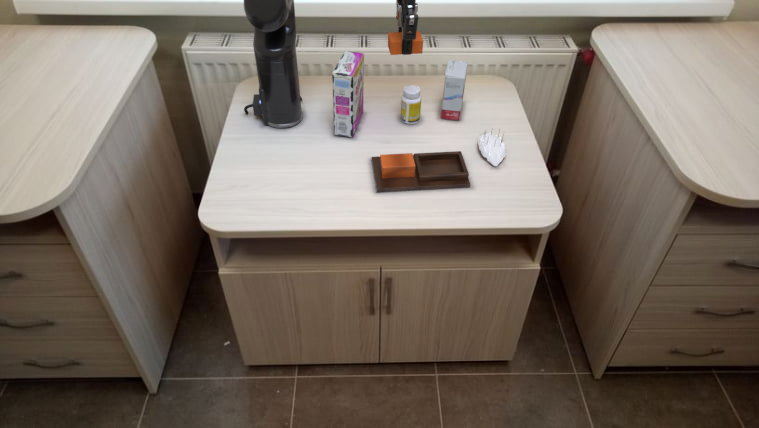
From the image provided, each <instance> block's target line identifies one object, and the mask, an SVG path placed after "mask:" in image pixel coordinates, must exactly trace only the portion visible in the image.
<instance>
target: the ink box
mask: <svg viewBox="0 0 759 428" xmlns="http://www.w3.org/2000/svg"><path fill="white" fill-rule="evenodd" d="M446 64H447V65H446V69H445V72H444V84H443V92H442V100H441V101H442V102H441V110H440V111H441V112H440V119H441V120H443V119H444V120H449V121H450V120H451V121H460V120H461V115H462V114H461V113H462V107H463V102H464V101H463V100H464V93H465V86H466V80H467V72H468V61H460V60H455V59H448V60H447V63H446Z"/></svg>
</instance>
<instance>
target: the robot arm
mask: <svg viewBox="0 0 759 428" xmlns="http://www.w3.org/2000/svg"><path fill="white" fill-rule="evenodd" d="M395 5H396V11H395V12H396V13H395V14H396V16H395V18H396V21H397V22H396V25H397V27H398V31H397V32H402V35H401V37H402V50H401V52H402V54H401V55H403V56H409V55H410V56H411V55H413V54H412V44H413V40H414V39H416V32H417V31H418V23H419V18H420V16H419V15H418V14H417V13H418V11H419V5H418V3H417V1H416V0H396V1H395ZM243 10H244V14H245V17H246V18H247V20H248V22H249V24H251V26H253V41H252V46H253V53H254V59H255V66H256V74H257V80H258V93H255V94H253V98H252V103H251V104H247V105H245V106H244V107H243V111H244V113H245V114H246V115H248V114H249V111H248V109H250V108H252V111H253V115H254V116H262V123H263V126H269V127H271V128H272V127H273V128H276V129H287V128H291V127H293V126H296V125H298V124H300V123H301V121H302V120H303V118H304V117H303V108H302V104H303V98H302V96H301V88H300V79H299V78H300V76H299V67H298V55H297V45H296V44H297V23H296V9H295V0H243ZM407 32H410V33H407Z"/></svg>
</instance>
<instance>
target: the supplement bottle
mask: <svg viewBox="0 0 759 428" xmlns="http://www.w3.org/2000/svg"><path fill="white" fill-rule="evenodd" d="M400 102H401V103H400V121H401V122H402V123H404V124H406V125H415V124H418V123H419V122H420V120H421V111H422V110H421V109H422V108H421V107H422V96H421V88H420V87H419V86H418V85H415V84H409V85H405V86H404V87H403V90H402V95H401V101H400Z"/></svg>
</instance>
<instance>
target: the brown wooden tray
mask: <svg viewBox="0 0 759 428" xmlns="http://www.w3.org/2000/svg"><path fill="white" fill-rule="evenodd" d="M371 165H372V172H373V178H374V184H375V193H379V194H380V193H396V192H413V191H430V190H432V191H433V190H448V189H449V190H450V189H467V188H471V181H470V178H469V176H470V175H469V174H470V173H469V170H468V168H467V164H466V162H465V159H464V156H463V154H462V151H461V150H458V151H440V152H439V151H438V152H437V151H436V152H418V153H417V152H416V153H413V152H410V153H390V154H389V153H388V154H379V156H371Z"/></svg>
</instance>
